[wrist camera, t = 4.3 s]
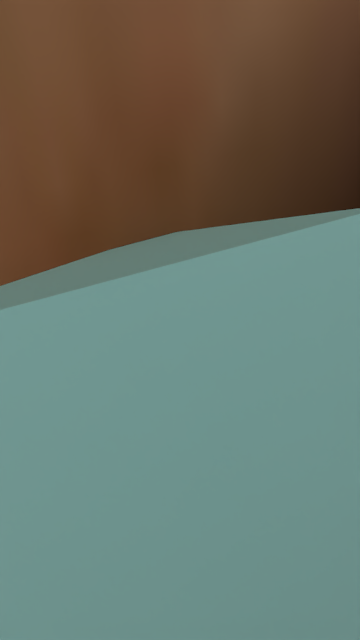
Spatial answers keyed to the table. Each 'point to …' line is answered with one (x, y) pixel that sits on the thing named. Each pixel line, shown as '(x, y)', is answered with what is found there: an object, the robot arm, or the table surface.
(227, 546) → the cross plate
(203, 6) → the table surface
